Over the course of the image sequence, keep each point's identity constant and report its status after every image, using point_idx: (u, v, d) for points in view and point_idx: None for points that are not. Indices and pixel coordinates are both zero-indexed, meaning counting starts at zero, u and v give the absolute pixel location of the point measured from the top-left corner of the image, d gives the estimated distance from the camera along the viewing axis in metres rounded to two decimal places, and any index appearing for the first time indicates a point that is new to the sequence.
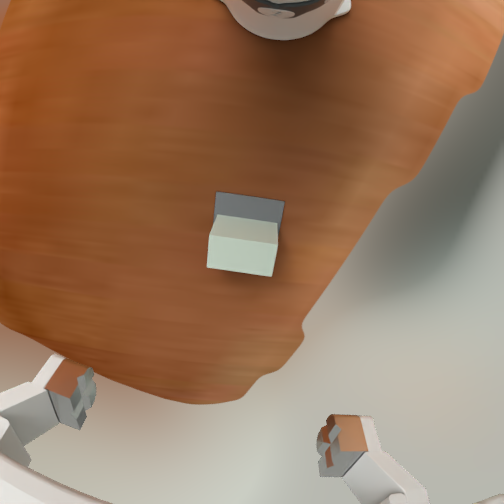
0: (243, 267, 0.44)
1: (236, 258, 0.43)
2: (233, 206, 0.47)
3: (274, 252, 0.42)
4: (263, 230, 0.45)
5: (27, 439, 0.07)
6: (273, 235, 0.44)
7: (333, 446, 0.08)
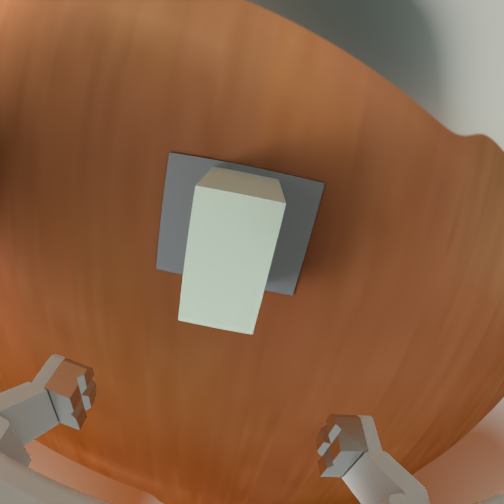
0: (257, 265, 0.19)
1: (231, 278, 0.19)
2: (179, 243, 0.26)
3: (216, 194, 0.17)
4: None
5: (27, 439, 0.07)
6: None
7: (333, 446, 0.08)
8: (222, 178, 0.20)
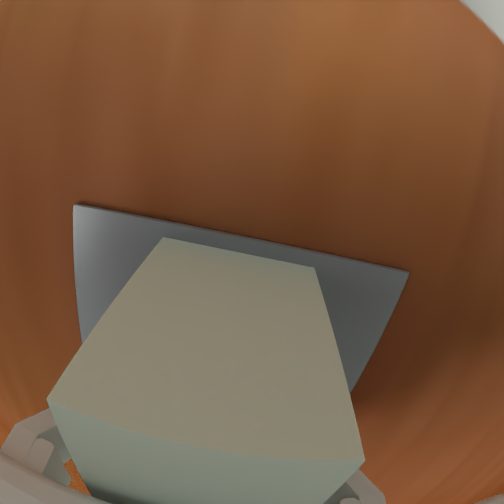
0: None
1: None
2: None
3: (116, 434, 0.04)
4: None
5: (66, 458, 0.07)
6: None
7: None
8: (164, 309, 0.07)
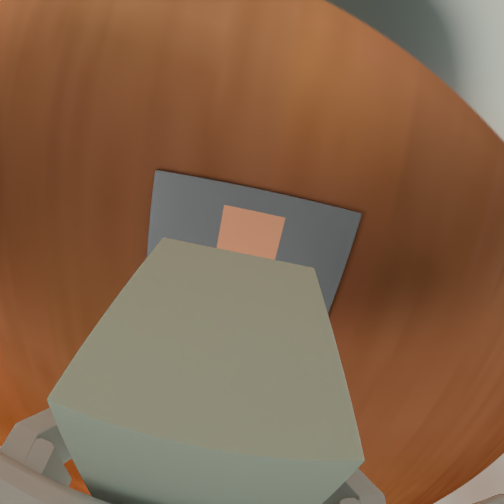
0: None
1: None
2: None
3: (116, 434, 0.04)
4: None
5: (66, 457, 0.07)
6: None
7: None
8: (164, 309, 0.07)
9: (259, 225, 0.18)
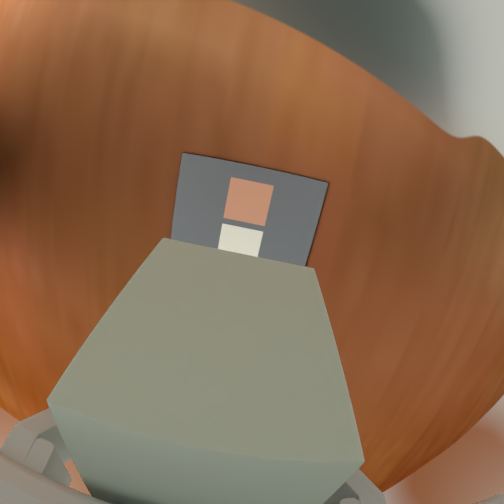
0: None
1: None
2: (191, 239, 0.28)
3: (116, 435, 0.04)
4: None
5: (66, 458, 0.07)
6: None
7: None
8: (163, 310, 0.07)
9: (255, 191, 0.26)
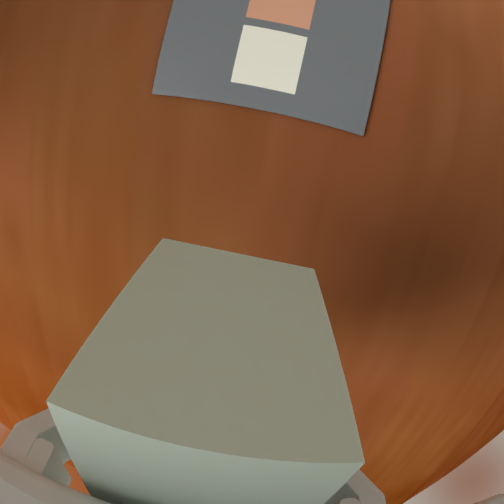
0: None
1: None
2: (192, 50, 0.15)
3: (116, 436, 0.04)
4: None
5: (66, 458, 0.07)
6: None
7: None
8: (163, 311, 0.07)
9: None
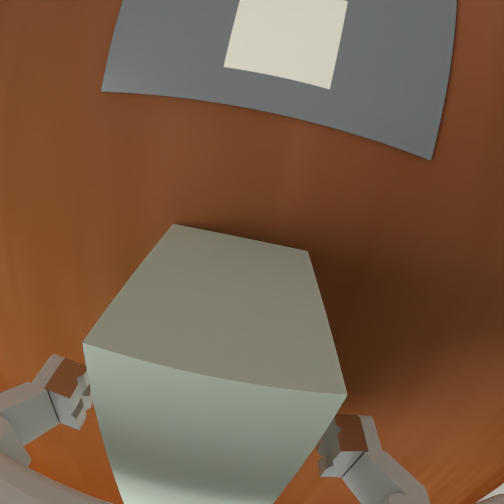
0: (260, 481, 0.07)
1: (207, 490, 0.07)
2: (163, 20, 0.08)
3: (140, 370, 0.05)
4: None
5: (27, 439, 0.07)
6: None
7: (333, 446, 0.08)
8: (178, 277, 0.08)
9: None
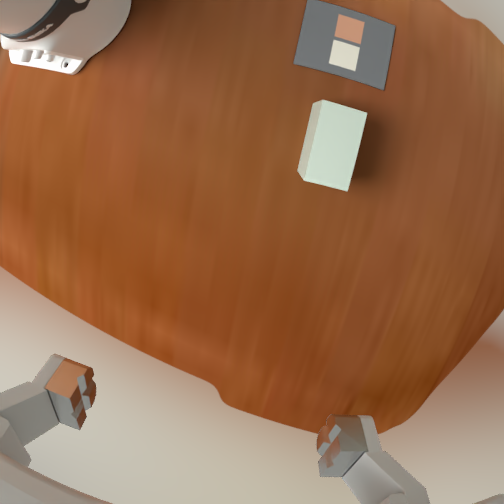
0: (352, 145, 0.32)
1: (338, 152, 0.32)
2: (312, 47, 0.33)
3: (333, 105, 0.30)
4: (313, 118, 0.34)
5: (27, 439, 0.07)
6: (317, 106, 0.33)
7: (333, 446, 0.08)
8: None
9: (353, 23, 0.31)
